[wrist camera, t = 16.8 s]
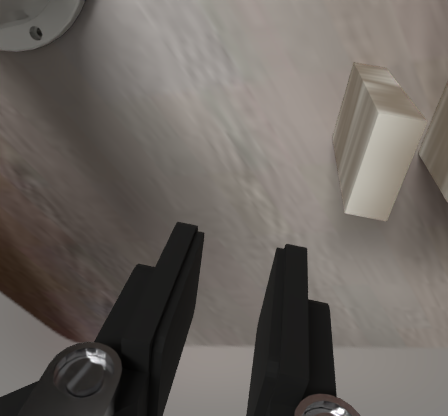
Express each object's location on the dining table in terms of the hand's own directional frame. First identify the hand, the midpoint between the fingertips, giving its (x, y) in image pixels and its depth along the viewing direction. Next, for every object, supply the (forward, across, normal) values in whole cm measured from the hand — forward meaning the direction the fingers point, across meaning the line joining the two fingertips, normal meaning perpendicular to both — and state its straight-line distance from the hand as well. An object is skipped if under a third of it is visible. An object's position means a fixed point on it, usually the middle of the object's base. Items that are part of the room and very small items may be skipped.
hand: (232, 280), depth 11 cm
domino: (+19, -6, 0) cm, 20 cm away
